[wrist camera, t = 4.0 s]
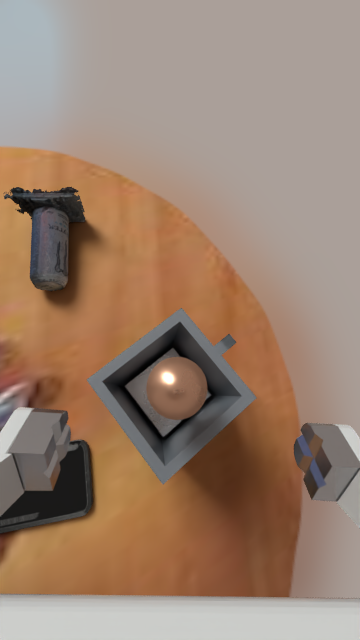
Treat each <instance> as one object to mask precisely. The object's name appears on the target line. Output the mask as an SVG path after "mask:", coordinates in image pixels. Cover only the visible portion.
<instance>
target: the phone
mask: <svg viewBox="0 0 360 640" xmlns="http://www.w3.org/2000/svg"><path fill="white" fill-rule="evenodd" d="M59 464H60V469H61V470H60V473H59V475H58V478H57V481H56V483H55V486H54V489H53V491H24V493H23V494H22V495H21V496H20V497H19V498H18V499H17V500H16V501H15V502H14V503H13V504H12V505H11V506H10V507H9V508H8V509H7V510H6V511H5V512H4V513H3V514H2V515H1V516H0V533H4V532H9V531H14V530H19V529H23V528H28V527H33V526H38V525H43V524H47V523H52V522H57V521H62V520H67V519H71V518H76V517H81V516H84V515H85V514H87V513H88V511H89V510H90V508H91V506H92V504H93V495H92V480H91V466H90V452H89V445H88V444H87V442H86V441H84V440H74V441H70V443H69V448H68V451H67V454H66V456H65V457H64V458H63V459H62V460H61V461H60V462H59Z"/></svg>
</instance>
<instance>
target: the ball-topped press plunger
mask: <svg viewBox="0 0 360 640" xmlns="http://www.w3.org/2000/svg"><path fill="white" fill-rule="evenodd" d="M125 387H126V388H127V389H128V391H129V392H130V393H131V395H132V396H133V397H134V399H135V400H136V401H137V403H138V404H139V405H140V407H141V408H142V409H143V411H144V412H145V413H146V415H147V416H148V417H149V419H150V420H151V421H152V423H153V424H154V425H155V427H156V428H157V429H158V430H159V432H160V433H161V434H162V436H163V437H164V436H165V435H166V434H167V433H168V432H169V431H171V430H172V429H173V428H174V427H175V426H176V425H177V424H179V423H180V422H181V421H182V420H183V419H186V418H188V417H191V416H192V415H194V414H195V413H196V412H198V411H199V410H200V408H201V407H202V405H203V404H204V402H205V400H206V399H207V398H208V397H209V396H210V395H211V394H210V393H209V392H208V391H207V381H206V377H205V375H204V373H203V371H202V370H201V368H200V367H199V366H198V365H197V364H196V363H194V362H193V361H191V360H189V359H187V358H183V357H180V356H179V355H178V353H177V352H176V351H175V350H174V348H172V349H171V350H170V351H168V352H167V353H166V354H165V355H163V356H162V357H161V358H159V359H158V360H157V361H156V362H154V363H153V364H152V365H151V366H149V367H148V368H147V369H146V370H144V371H143V372H142V373H141V374H139V375H138V376H137V377H136V378H134V379H133V380H132V381H130V382H129V383H128V384H127V385H125Z"/></svg>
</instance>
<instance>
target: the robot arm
mask: <svg viewBox="0 0 360 640" xmlns="http://www.w3.org/2000/svg"><path fill="white" fill-rule="evenodd" d="M67 421H68V413H67V411H64V410H51V409H39V408H23V407H19V408H18V409H16V410H15V411H14V412H13V414H12V415H11V417H10V418H9V420H8V421H7V423H6V425H5V426H4V428H3V429H2V431H1V432H0V516H1V515H2V514H3V513H4V512H5V511H6V510H7V509H8V508H9V507H10V506H11V505H12V504H13V503H14V502H15V501H16V500H17V499H18V498H19V497H20V496H21V495H22V494H23V493H24V491H53V489H54V486H55V483H56V481H57V478H58V475H59V473H60V470H61V469H60V464H59V462H60V461H61V460H62V459H63V458H64V457H65V456H66V454H67V451H68V448H69V443H70V435H71V432H70V427H69V426H68V425H67V424H66V423H67ZM301 432H302V434H303V435H301V436H300V437H298V438H297V439H296V441H295V444H294V456H295V460H296V462H297V465H298V467H299V468H300V469H301V470H302V471H303V472H304V473H305V475H304V479H303V480H304V482H305V485H306V487H307V490H308V492H309V494H310V497H311V499H312V500H321V501H336V502H337V504H338V505H339V506H340V507H341V508H342V509H343V510H344V512H345V513H346V514H347V515H348V516H349V517H350V518H351V519H352V520H353V521H354V523H355V524H356V525H357V526H358V527H359V528H360V438H359V437H358V435H357V434H356V432H355V431H354V429H353V428H352V427H350V426H349V425H336V424H335V425H333V424H317V423H306V424H304V425H303V426H302V428H301ZM0 640H360V598H298V597H295V598H294V597H219V596H138V595H57V594H0Z"/></svg>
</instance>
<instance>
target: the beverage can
mask: <svg viewBox="0 0 360 640" xmlns="http://www.w3.org/2000/svg"><path fill="white" fill-rule="evenodd" d="M10 191H11V192H12V194H13V195H12V196H10V195H8V194H6V195H5V196H4V197H5V198H4V199H6V198H10V199H12V200H13V201H14V202H15V203H16V205H17V204H19V206H20V208H21V209H19V210H17V209H16V210H17V211H19V212H21V213H23V214H24V212H27V213H29V215H30V216H31V217H32V218H31V219H32V240H31V264H30V265H31V266H30V279H31V281H32V283H33V284H34V285H35V287H36V288H37V289H41V290H48V291H53V290H54V291H56V290H62V289H63V288H64V287H65V285H66V284H67V282H68V239H69V222H85V217H84V215H83V212H85V211H84V209H83V205H82V202H81V200H80V196H79V195H78V196H75V195H74V193H75V192H76V193H77V192H78V190H76V189H74V188H72V187H67V188H62V189H61V190H60V191H58V190H57V191H54V192H53V191H51V192H47V191H45V192H44V191H43V192H42V191H41V189H39V190H36V189H34V190H33V192H32V193H31V192H30V191H29V190H26V191H24V190H23V189H22V188H19V187H16V188H13V189H11V190H10ZM11 192H10V193H11ZM6 193H7V191H6ZM8 193H9V192H8ZM3 194H4V193H3ZM77 200H80V201H77ZM82 209H83V210H82ZM20 210H21V211H20ZM82 211H83V212H82Z"/></svg>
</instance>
